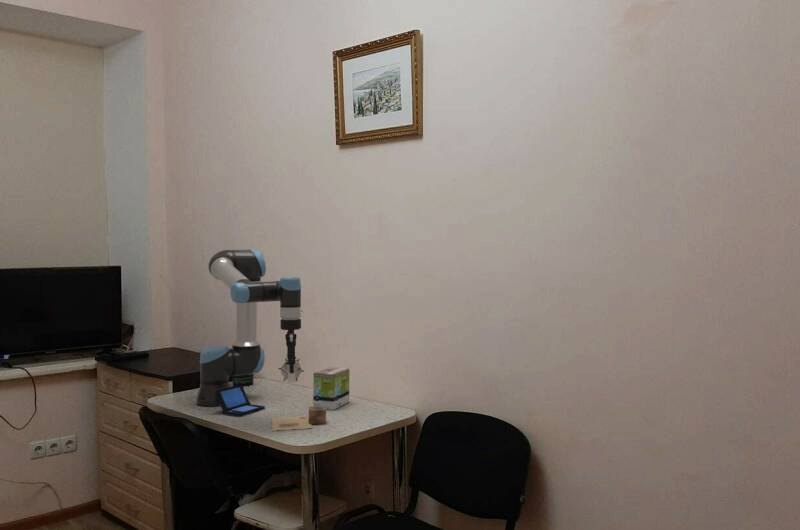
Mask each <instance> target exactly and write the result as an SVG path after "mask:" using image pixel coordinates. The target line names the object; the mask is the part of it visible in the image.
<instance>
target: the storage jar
mask: <svg viewBox="0 0 800 530" xmlns="http://www.w3.org/2000/svg"><path fill="white" fill-rule="evenodd" d="M237 385H241V386H242V387H243V388H245V387H244V386H248V387H251V386H250V385H252V386H254V374H250V375H249V374H246V375H237V376H232V387H233V386H237Z"/></svg>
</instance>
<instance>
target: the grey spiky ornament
mask: <svg viewBox="0 0 800 530" xmlns="http://www.w3.org/2000/svg"><path fill="white" fill-rule="evenodd" d="M284 360H285V362H284V363H283V364H282V366H281V367H279V368H278V370H280V371H281V373H282V374H281V375H282V376H283V382H285V381H288V364H286V362H288V359H287V357H286V358H285V359H284ZM295 361H296V362H295V378H296V382H298V378H299V376H300V375H301V374H302V372H303V373H304V372H305V371H304V370H303V369H302V367H301V364H300V362H299V361H300V358H297V359H295Z"/></svg>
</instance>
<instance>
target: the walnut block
mask: <svg viewBox="0 0 800 530" xmlns="http://www.w3.org/2000/svg"><path fill="white" fill-rule="evenodd" d="M308 416H309V417H308V421H309V424H311V425H326V424H325V423H326V421H327V409H326V408H325V407H313V406H308Z"/></svg>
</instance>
